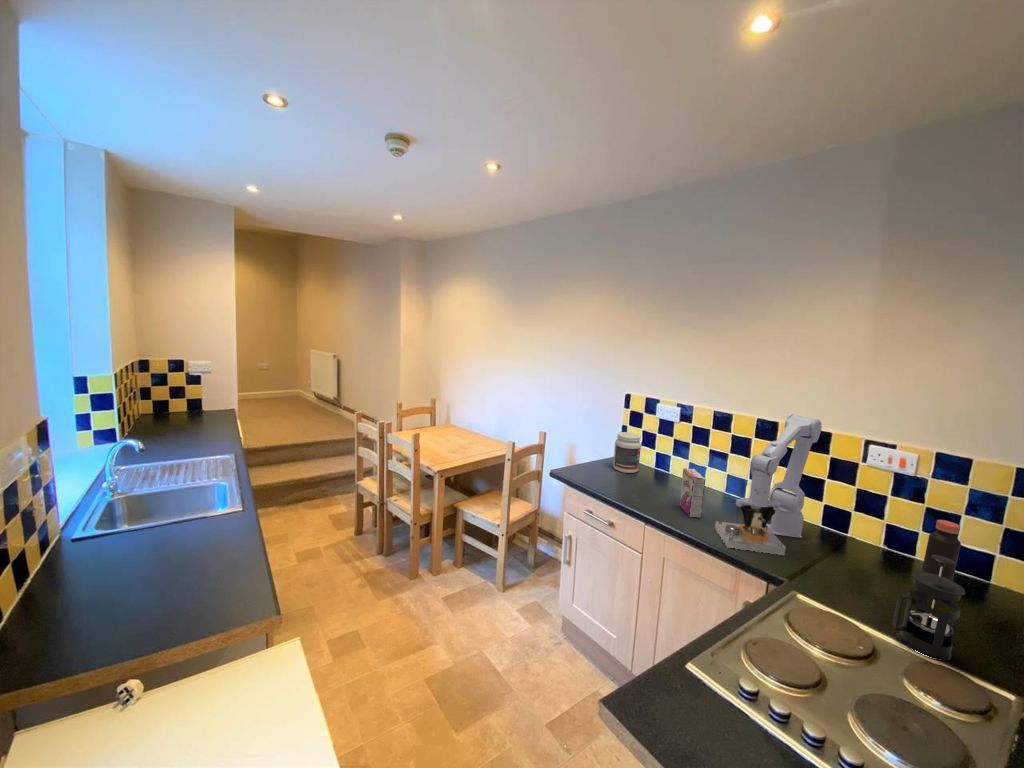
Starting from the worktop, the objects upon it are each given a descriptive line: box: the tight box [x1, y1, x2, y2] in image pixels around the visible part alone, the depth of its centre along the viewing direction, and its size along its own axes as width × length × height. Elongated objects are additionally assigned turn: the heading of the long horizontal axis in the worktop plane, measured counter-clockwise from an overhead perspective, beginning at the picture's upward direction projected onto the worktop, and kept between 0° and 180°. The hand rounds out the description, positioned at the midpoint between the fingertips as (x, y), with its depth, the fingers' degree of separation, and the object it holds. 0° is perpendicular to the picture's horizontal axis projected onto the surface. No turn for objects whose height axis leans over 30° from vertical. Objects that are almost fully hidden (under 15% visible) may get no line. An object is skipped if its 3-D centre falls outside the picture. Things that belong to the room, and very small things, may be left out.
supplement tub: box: [612, 431, 642, 474], centre depth 217 cm, size 13×13×18 cm
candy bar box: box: [678, 468, 706, 519], centre depth 171 cm, size 11×5×16 cm, turn 179°
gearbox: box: [714, 520, 787, 556], centre depth 150 cm, size 18×14×4 cm
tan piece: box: [745, 507, 766, 535], centre depth 148 cm, size 5×8×8 cm, turn 4°
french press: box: [892, 555, 966, 661], centre depth 102 cm, size 12×9×23 cm
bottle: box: [920, 519, 962, 582], centre depth 129 cm, size 7×7×20 cm
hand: (754, 526), depth 149 cm, fingers closed on tan piece, 5 cm apart
